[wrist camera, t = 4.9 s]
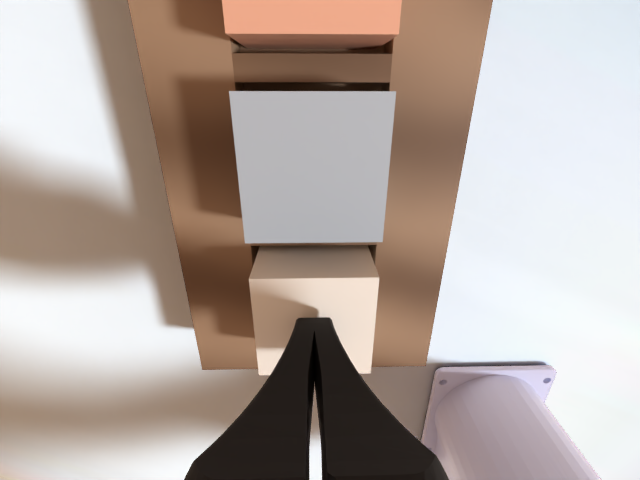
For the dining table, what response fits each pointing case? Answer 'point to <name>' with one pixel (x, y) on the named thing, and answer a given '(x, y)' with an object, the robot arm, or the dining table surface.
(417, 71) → the key block
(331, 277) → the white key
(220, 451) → the robot arm
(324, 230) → the slate key
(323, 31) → the terracotta key
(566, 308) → the dining table surface
